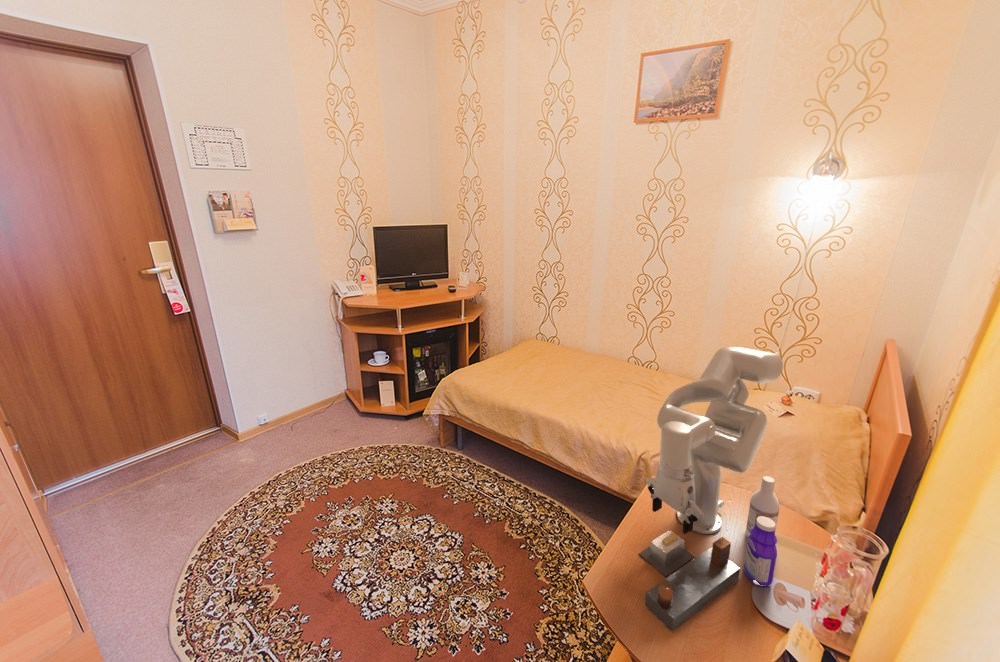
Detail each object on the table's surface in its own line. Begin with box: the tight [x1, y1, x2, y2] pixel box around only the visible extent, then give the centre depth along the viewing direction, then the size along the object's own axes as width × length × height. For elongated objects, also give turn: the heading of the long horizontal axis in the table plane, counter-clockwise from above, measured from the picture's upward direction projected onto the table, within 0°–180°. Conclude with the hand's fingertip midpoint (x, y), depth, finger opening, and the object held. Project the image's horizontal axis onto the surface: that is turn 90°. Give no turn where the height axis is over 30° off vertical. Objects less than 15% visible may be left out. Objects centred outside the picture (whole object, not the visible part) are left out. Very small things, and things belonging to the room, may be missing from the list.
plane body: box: [644, 536, 741, 633], centre depth 102 cm, size 26×8×10 cm, turn 120°
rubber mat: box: [638, 546, 696, 578], centre depth 114 cm, size 12×9×1 cm
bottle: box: [743, 516, 778, 587], centre depth 104 cm, size 7×6×17 cm
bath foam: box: [745, 475, 780, 538], centre depth 117 cm, size 7×7×20 cm
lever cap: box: [649, 529, 686, 567], centre depth 114 cm, size 8×5×5 cm, turn 121°
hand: (671, 520), depth 112 cm, fingers open, 9 cm apart
